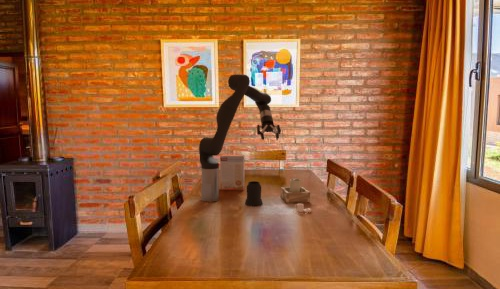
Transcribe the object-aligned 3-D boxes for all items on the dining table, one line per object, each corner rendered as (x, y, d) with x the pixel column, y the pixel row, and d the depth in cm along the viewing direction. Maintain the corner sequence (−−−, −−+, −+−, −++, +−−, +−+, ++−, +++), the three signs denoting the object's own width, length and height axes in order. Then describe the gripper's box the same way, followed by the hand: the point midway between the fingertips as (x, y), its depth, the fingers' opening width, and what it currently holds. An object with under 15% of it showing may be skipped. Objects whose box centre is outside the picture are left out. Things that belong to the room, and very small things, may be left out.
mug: (261, 206, 160) (261, 184, 158) (243, 206, 161) (243, 184, 160) (264, 200, 171) (264, 179, 170) (247, 199, 173) (247, 178, 171)
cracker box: (244, 188, 196) (244, 154, 193) (243, 191, 190) (243, 156, 187) (222, 187, 197) (221, 154, 195) (220, 190, 191) (220, 155, 189)
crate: (309, 202, 167) (310, 192, 167) (286, 203, 165) (286, 193, 165) (302, 196, 180) (302, 186, 179) (280, 196, 178) (280, 187, 177)
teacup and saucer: (313, 212, 153) (313, 203, 153) (306, 216, 147) (306, 208, 146) (296, 208, 158) (296, 200, 158) (289, 213, 152) (289, 204, 151)
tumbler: (298, 199, 169) (299, 181, 168) (288, 198, 171) (288, 179, 170) (300, 197, 174) (301, 179, 173) (290, 195, 176) (291, 177, 175)
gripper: (256, 114, 197) (259, 134, 187) (278, 114, 199) (283, 134, 189) (254, 123, 202) (257, 143, 192) (276, 122, 205) (280, 142, 195)
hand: (270, 138), depth 191 cm, fingers open, 8 cm apart
